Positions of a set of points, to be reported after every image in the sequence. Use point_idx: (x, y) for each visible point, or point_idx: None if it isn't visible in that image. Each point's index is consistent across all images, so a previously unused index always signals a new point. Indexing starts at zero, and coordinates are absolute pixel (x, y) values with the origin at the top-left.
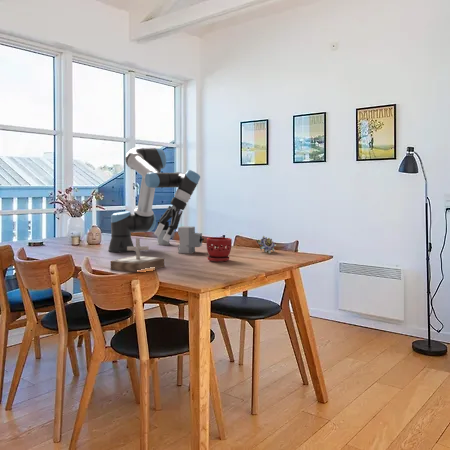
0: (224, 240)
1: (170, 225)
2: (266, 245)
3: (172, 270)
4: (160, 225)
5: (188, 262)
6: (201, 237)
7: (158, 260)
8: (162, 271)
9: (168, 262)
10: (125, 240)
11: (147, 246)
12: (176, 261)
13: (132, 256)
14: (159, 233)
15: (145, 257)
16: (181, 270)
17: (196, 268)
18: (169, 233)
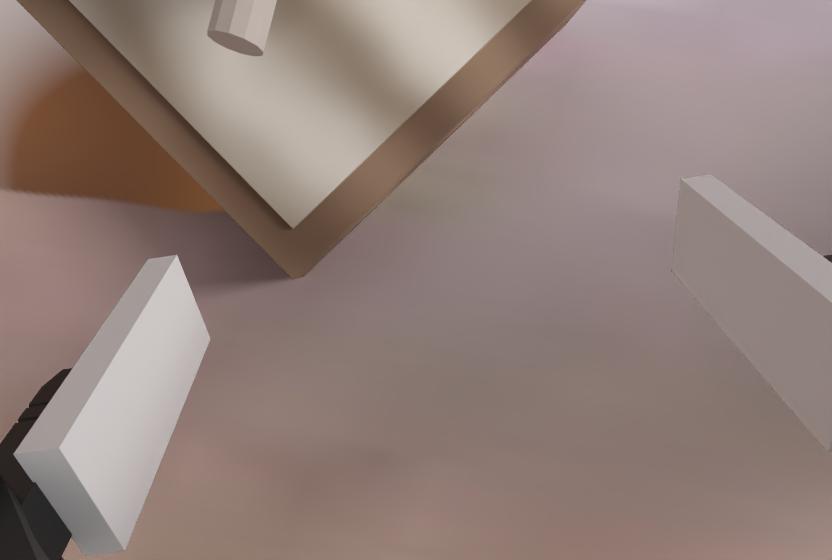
0: None
1: (1, 518)
2: None
3: (53, 311)
4: (812, 328)
5: (466, 550)
6: None
7: (215, 198)
8: (28, 208)
9: (532, 359)
10: None
11: (226, 19)
12: (566, 447)
13: None
14: (701, 287)
15: (379, 72)
16: (26, 395)
17: (93, 556)
18: (44, 402)
